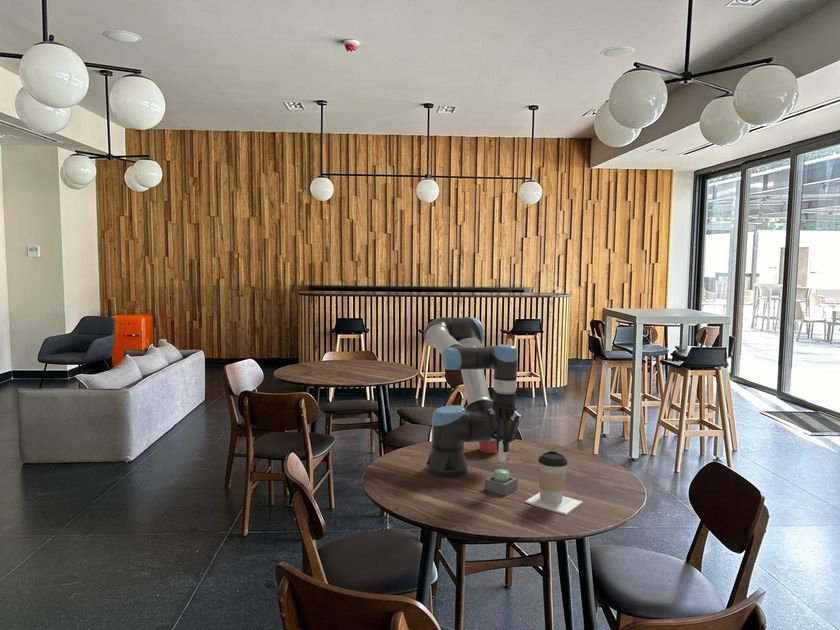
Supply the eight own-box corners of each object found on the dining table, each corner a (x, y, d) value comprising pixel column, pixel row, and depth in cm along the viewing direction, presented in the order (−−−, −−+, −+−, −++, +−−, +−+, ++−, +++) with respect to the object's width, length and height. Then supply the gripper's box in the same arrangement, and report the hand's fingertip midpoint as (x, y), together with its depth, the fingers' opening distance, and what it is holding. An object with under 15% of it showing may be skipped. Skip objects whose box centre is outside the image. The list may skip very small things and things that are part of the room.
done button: (490, 483, 202) (491, 471, 202) (498, 479, 206) (499, 468, 205) (503, 487, 199) (504, 475, 198) (511, 482, 203) (511, 471, 202)
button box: (484, 489, 202) (484, 479, 202) (496, 482, 208) (497, 472, 208) (505, 495, 197) (505, 485, 197) (517, 488, 203) (517, 478, 203)
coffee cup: (565, 507, 187) (568, 460, 186) (536, 503, 189) (538, 457, 187) (565, 496, 196) (567, 451, 194) (536, 493, 198) (538, 448, 196)
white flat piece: (525, 502, 191) (525, 500, 191) (542, 492, 201) (542, 490, 200) (566, 515, 183) (566, 513, 182) (582, 503, 192) (582, 501, 192)
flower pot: (488, 444, 251) (488, 422, 250) (508, 451, 243) (509, 427, 242) (470, 449, 244) (471, 426, 243) (491, 456, 236) (492, 432, 235)
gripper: (482, 390, 201) (479, 459, 203) (516, 396, 193) (513, 467, 194) (493, 387, 206) (491, 453, 208) (527, 392, 198) (524, 462, 200)
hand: (502, 460), depth 201 cm, fingers closed
